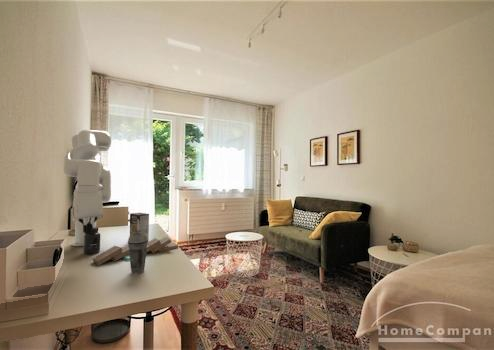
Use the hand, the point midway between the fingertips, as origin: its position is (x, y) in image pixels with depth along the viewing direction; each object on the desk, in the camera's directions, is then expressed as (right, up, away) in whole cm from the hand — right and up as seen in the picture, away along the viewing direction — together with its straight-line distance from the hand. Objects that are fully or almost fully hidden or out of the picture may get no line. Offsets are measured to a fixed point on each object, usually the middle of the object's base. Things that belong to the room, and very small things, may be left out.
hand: (87, 233), depth 99 cm
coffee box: (+5, -14, +37) cm, 39 cm away
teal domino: (+16, -13, +7) cm, 22 cm away
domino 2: (+6, -12, +6) cm, 15 cm away
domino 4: (+19, -12, +17) cm, 28 cm away
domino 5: (+21, -13, +20) cm, 32 cm away
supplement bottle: (-9, -14, +16) cm, 23 cm away
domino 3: (+14, -12, +14) cm, 24 cm away
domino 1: (+3, -12, +1) cm, 12 cm away
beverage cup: (+24, -13, -7) cm, 28 cm away
